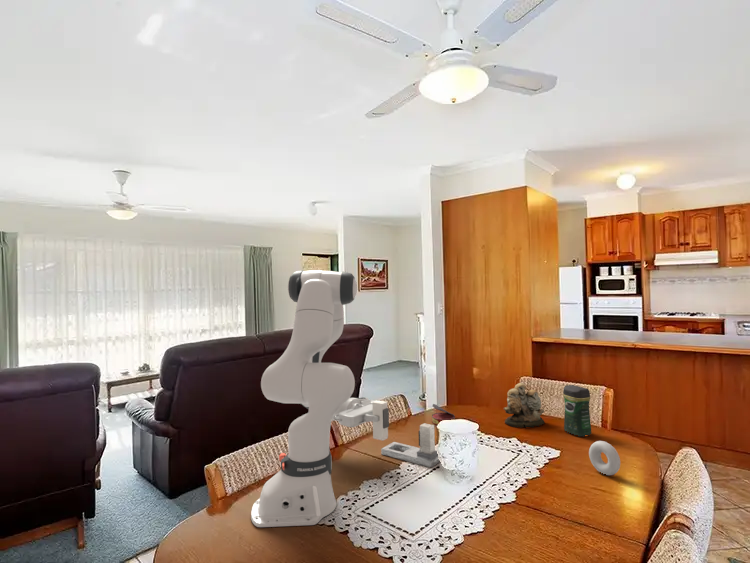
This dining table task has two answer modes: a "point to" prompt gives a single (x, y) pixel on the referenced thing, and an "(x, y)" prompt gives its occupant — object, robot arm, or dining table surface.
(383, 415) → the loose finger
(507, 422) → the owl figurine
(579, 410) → the coffee jar
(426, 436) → the steel rail
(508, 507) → the dining table surface
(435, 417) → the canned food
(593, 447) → the donut
